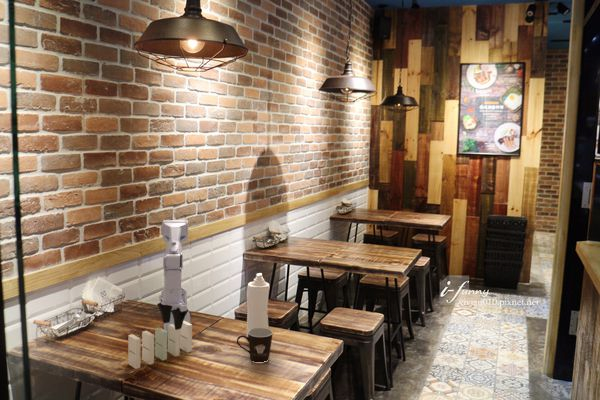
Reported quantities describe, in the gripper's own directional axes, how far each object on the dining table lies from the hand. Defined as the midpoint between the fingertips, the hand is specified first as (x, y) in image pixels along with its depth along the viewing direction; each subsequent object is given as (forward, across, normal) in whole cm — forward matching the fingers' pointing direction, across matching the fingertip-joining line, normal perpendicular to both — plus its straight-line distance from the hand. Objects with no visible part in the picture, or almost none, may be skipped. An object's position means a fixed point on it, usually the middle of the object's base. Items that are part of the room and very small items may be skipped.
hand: (172, 325), depth 180 cm
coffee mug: (+10, +22, +20) cm, 31 cm away
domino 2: (+10, 0, -9) cm, 14 cm away
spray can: (+11, +8, +33) cm, 35 cm away
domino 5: (+10, 0, +6) cm, 12 cm away
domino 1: (+10, 0, -14) cm, 18 cm away
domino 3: (+10, 0, -4) cm, 11 cm away
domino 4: (+10, 0, +1) cm, 10 cm away
